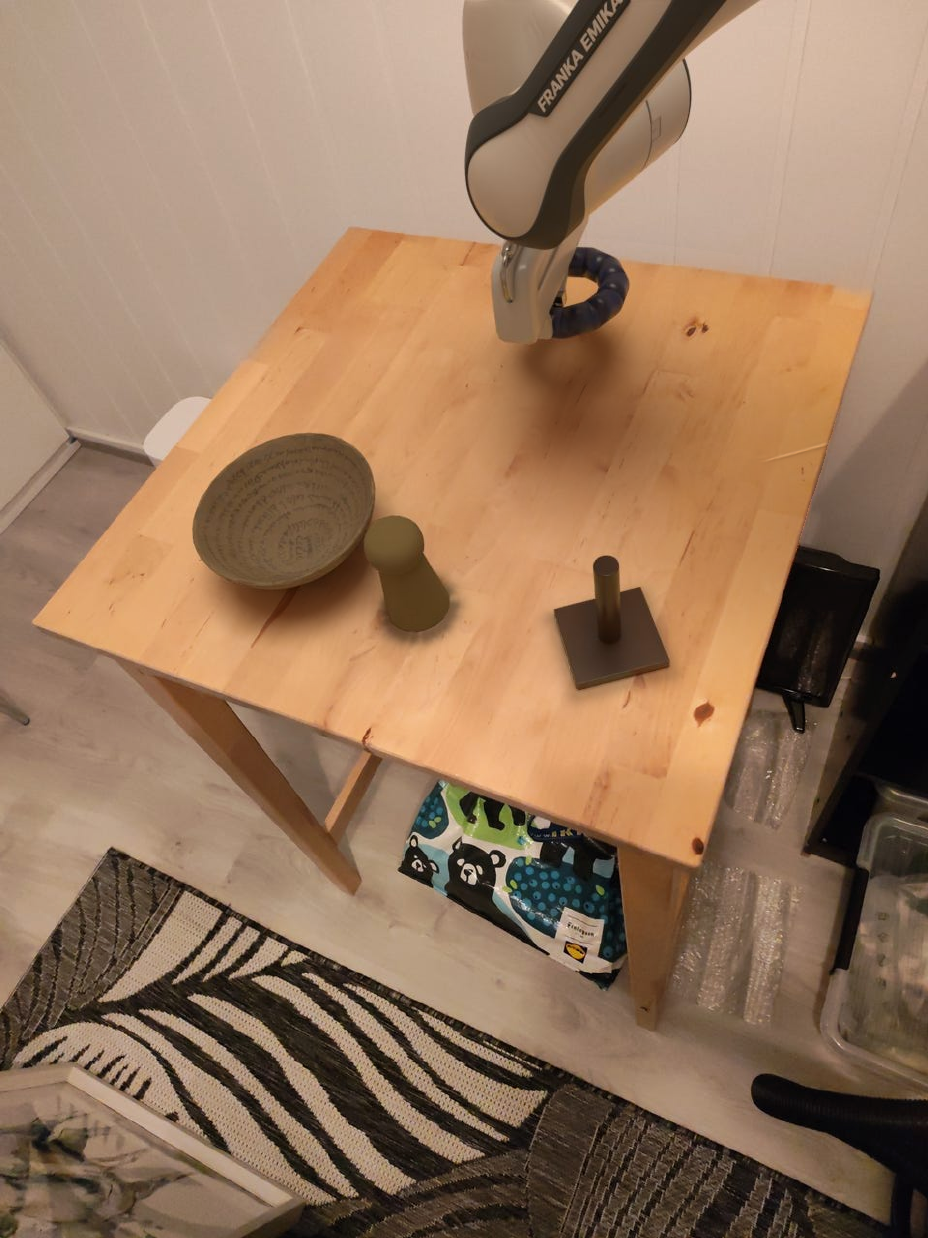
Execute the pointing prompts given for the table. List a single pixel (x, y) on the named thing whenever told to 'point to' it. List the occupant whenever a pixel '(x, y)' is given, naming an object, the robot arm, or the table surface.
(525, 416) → the table surface
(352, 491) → the bowl
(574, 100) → the robot arm
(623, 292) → the ring
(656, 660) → the post
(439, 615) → the olive game pawn
